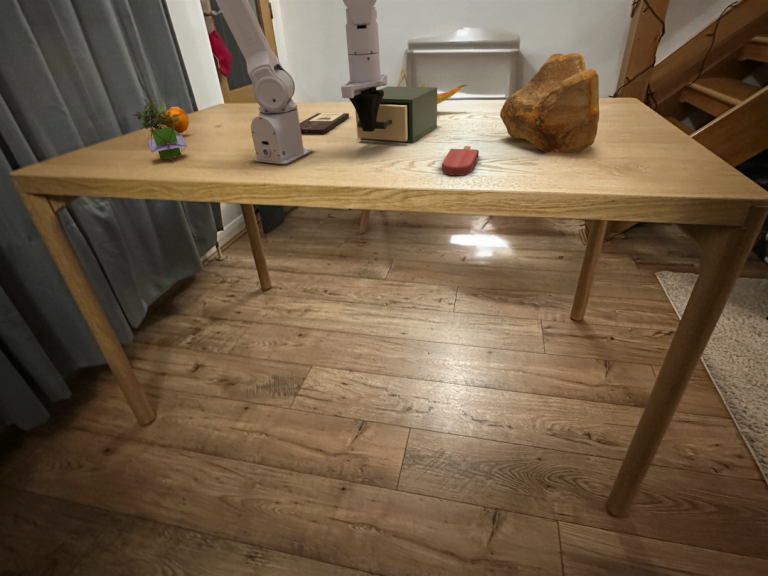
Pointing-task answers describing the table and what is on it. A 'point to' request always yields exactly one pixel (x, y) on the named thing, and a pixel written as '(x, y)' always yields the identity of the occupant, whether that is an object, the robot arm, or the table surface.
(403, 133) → the drawer
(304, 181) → the table surface
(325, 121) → the chocolate bar
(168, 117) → the christmas decoration
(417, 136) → the cabinet
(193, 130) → the table surface
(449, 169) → the popsicle
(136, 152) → the table surface
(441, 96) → the magic lamp
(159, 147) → the geometric puzzle
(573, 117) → the rough brown rock
